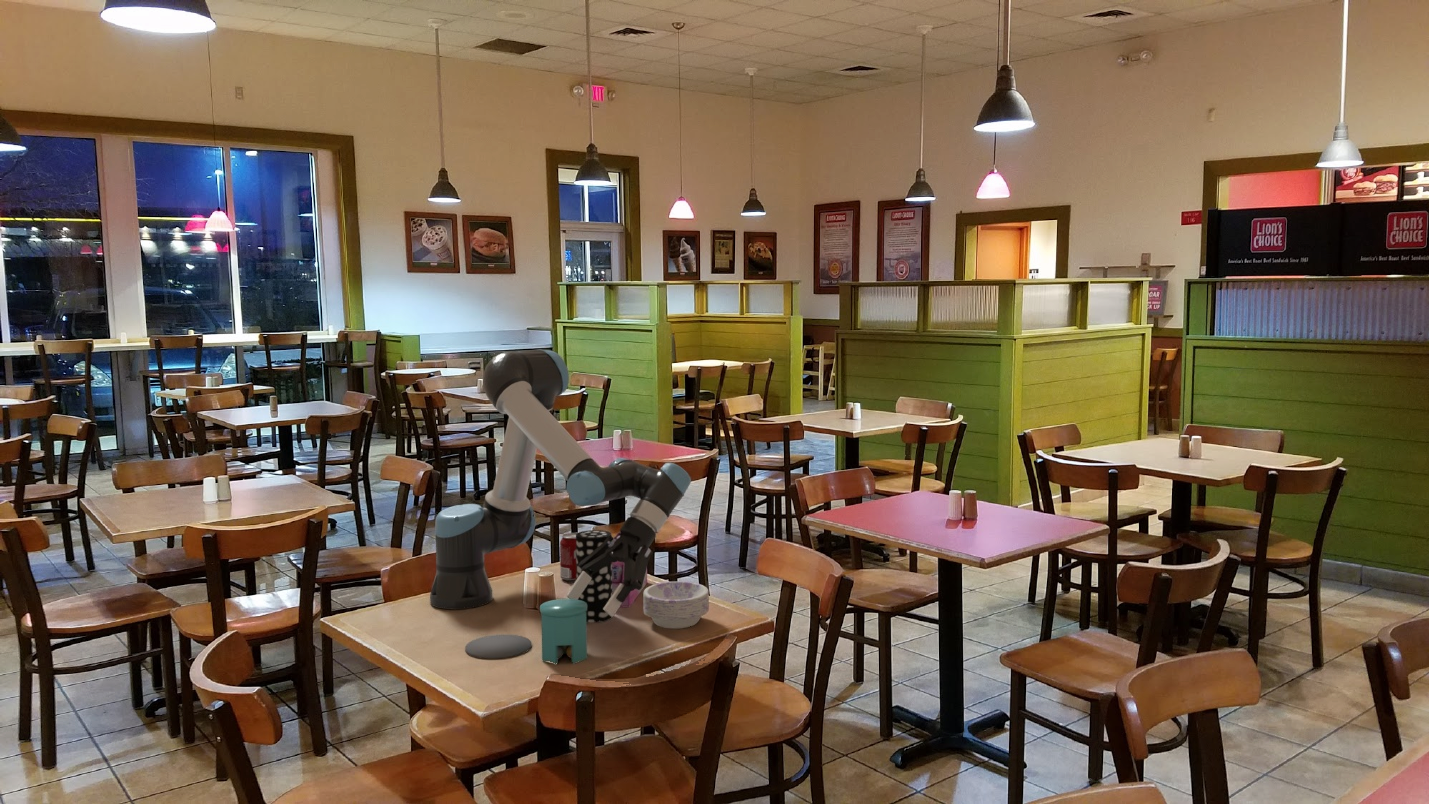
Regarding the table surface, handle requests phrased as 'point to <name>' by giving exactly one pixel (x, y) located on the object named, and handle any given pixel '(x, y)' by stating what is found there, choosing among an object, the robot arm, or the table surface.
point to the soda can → (568, 557)
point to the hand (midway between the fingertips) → (588, 606)
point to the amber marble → (569, 651)
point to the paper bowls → (676, 603)
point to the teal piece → (564, 628)
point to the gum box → (619, 577)
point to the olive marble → (564, 648)
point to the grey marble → (559, 651)
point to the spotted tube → (594, 576)
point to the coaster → (498, 646)
